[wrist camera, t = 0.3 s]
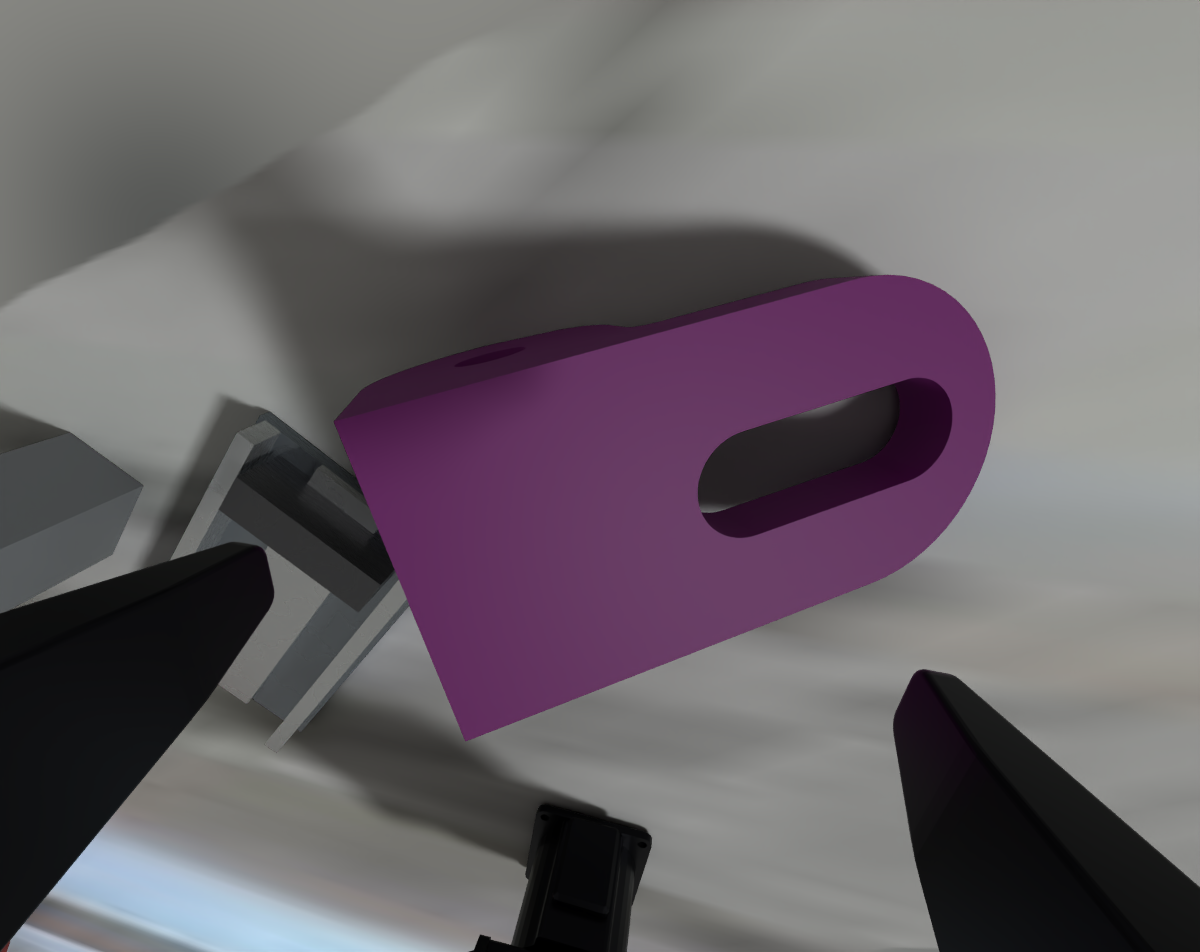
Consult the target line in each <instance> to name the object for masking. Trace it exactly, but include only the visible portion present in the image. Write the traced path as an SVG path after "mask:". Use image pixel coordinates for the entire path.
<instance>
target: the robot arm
mask: <svg viewBox="0 0 1200 952" xmlns="http://www.w3.org/2000/svg"><path fill="white" fill-rule="evenodd" d="M273 600H274V586H273V581H272V577H271V572H270V568H269V563H268V559H267V555H266V552H265V551H264V550H263V548H262V547H260V546H258V545H253V544H248V543H242V542H228V543H225V544H221V545H218V546H215V547H212V548H209V549H205V550H202V551H199V552H196V553H192V554H189V555H186V556H183V557H180V558H176V559H173V560H170V561H167V562H163V563H160V564H157V565H154V566H151V567H147V568H144V569H141V570H138V571H135V572H131V573H128V574H125V575H122V576H118V577H115V578H112V579H109V580H106V581H102V582H99V583H96V584H93V585H89V586H86V587H83V588H80V589H77V590H73V591H70V592H67V593H64V594H61V595H57V596H54V597H51V598H48V599H44V600H41V601H38V602H35V603H32V604H28V605H25V606H22V607H19V608H15V609H12V610H9V611H6V612H3V613H0V952H1V951H2V950H3V948H4V947H5V946H6V945H7V943H8V942H9V941H10V940H11V939H12V937H13V936H14V935H15V934H16V933H17V931H18V930H19V929H20V928H21V926H22V925H23V924H24V923H25V922H26V920H27V919H28V918H29V917H30V915H31V914H32V913H33V912H34V911H35V909H36V908H37V907H38V906H39V905H40V903H41V902H42V901H43V900H44V898H45V897H46V896H47V895H48V894H49V892H50V891H51V890H52V889H53V888H54V886H55V885H56V884H57V883H58V881H59V880H60V879H61V878H62V877H63V875H64V874H65V873H66V872H67V870H68V869H69V868H70V867H71V866H72V864H73V863H74V862H75V861H76V860H77V858H78V857H79V856H80V855H81V853H82V852H83V851H84V850H85V849H86V847H87V846H88V845H89V844H90V842H91V841H92V840H93V839H94V838H95V836H96V835H97V834H98V833H99V832H100V830H101V829H102V828H103V827H104V825H105V824H106V823H107V822H108V821H109V819H110V818H111V817H112V816H113V815H114V813H115V812H116V811H117V810H118V808H119V807H120V806H121V805H122V804H123V802H124V801H125V800H126V799H127V797H128V796H129V795H130V794H131V793H132V791H133V790H134V789H135V788H136V787H137V785H138V784H139V783H140V782H141V780H142V779H143V778H144V777H145V776H146V774H147V773H148V772H149V771H150V769H151V768H152V767H153V766H154V765H155V763H156V762H157V761H158V760H159V759H160V757H161V756H162V755H163V754H164V752H165V751H166V750H167V749H168V748H169V746H170V745H171V744H172V743H173V742H174V740H175V739H176V738H177V737H178V735H179V734H180V733H181V732H182V731H183V729H184V728H185V727H186V726H187V724H188V723H189V722H190V721H191V720H192V718H193V717H194V716H195V715H196V713H197V712H198V711H199V710H200V708H201V707H202V706H203V704H204V703H205V702H206V701H207V699H208V698H209V696H210V695H211V694H212V692H213V691H214V689H215V688H216V687H217V685H218V684H219V682H220V681H221V680H222V678H223V677H224V675H225V674H226V672H227V671H228V669H229V668H230V666H231V665H232V663H233V662H234V660H235V659H236V658H237V656H238V655H239V653H240V652H241V650H242V649H243V647H244V646H245V644H246V643H247V641H248V640H249V639H250V637H251V636H252V634H253V633H254V631H255V630H256V628H257V627H258V625H259V624H260V622H261V621H262V619H263V618H264V617H265V615H266V614H267V612H268V611H269V609H270V607H271V605H272V603H273ZM893 732H894V739H895V745H896V751H897V757H898V763H899V769H900V776H901V782H902V788H903V794H904V800H905V806H906V812H907V818H908V824H909V830H910V836H911V842H912V847H913V852H914V857H915V862H916V866H917V870H918V874H919V878H920V882H921V885H922V889H923V893H924V897H925V900H926V904H927V908H928V911H929V915H930V919H931V922H932V926H933V930H934V933H935V937H936V941H937V944H938V948H939V951H940V952H1200V887H1199V886H1198V885H1197V884H1196V883H1194V882H1193V881H1192V880H1191V879H1190V878H1189V877H1188V876H1186V875H1185V874H1184V873H1183V872H1182V871H1181V870H1179V869H1178V868H1177V867H1176V866H1175V865H1174V864H1173V863H1171V862H1170V861H1169V860H1168V859H1167V858H1166V857H1164V856H1163V855H1162V854H1161V853H1160V852H1159V851H1158V850H1156V849H1155V848H1154V847H1153V846H1152V845H1151V844H1149V843H1148V842H1147V841H1146V840H1145V839H1144V838H1142V837H1141V836H1140V835H1139V834H1138V833H1137V832H1136V831H1134V830H1133V829H1132V828H1131V827H1130V826H1129V825H1127V824H1126V823H1125V822H1124V821H1123V820H1122V819H1121V818H1119V817H1118V816H1117V815H1116V814H1115V813H1114V812H1112V811H1111V810H1110V809H1109V808H1108V807H1107V806H1106V805H1104V804H1103V803H1102V802H1101V801H1100V800H1099V799H1097V798H1096V797H1095V796H1094V795H1093V794H1092V793H1090V792H1089V791H1088V790H1087V789H1086V788H1085V787H1084V786H1082V785H1081V784H1080V783H1079V782H1078V781H1077V780H1075V779H1074V778H1073V777H1072V776H1071V775H1070V774H1069V773H1067V772H1066V771H1065V770H1064V769H1063V768H1062V767H1060V766H1059V765H1058V764H1057V763H1056V762H1055V761H1054V760H1052V759H1051V758H1050V757H1049V756H1048V755H1047V754H1045V753H1044V752H1043V751H1042V750H1041V749H1040V748H1039V747H1037V746H1036V745H1035V744H1034V743H1033V742H1032V741H1030V740H1029V739H1028V738H1027V737H1026V736H1025V735H1023V734H1022V733H1021V732H1020V731H1019V730H1018V729H1017V728H1015V727H1014V726H1013V725H1012V724H1011V723H1010V722H1008V721H1007V720H1006V719H1005V718H1004V717H1003V716H1002V715H1000V714H999V713H998V712H997V711H996V710H995V709H993V708H992V707H991V706H990V705H989V704H988V703H987V702H985V701H984V700H983V699H982V698H981V697H980V696H978V695H977V694H976V693H975V692H974V691H973V690H971V689H970V688H969V687H968V686H967V685H966V684H965V683H963V682H962V681H961V680H960V679H959V678H957V677H956V676H954V675H951V674H947V673H942V672H936V671H931V670H925V669H922V670H918V671H917V672H916V673H914V675H913V676H912V678H911V680H910V682H909V684H908V686H907V689H906V691H905V693H904V695H903V697H902V699H901V701H900V703H899V706H898V708H897V710H896V712H895V715H894V721H893ZM651 844H652V837H651V835H649V834H648V833H646V832H643V831H640V830H636V829H632V828H629V827H625V826H622V825H618V824H614V823H611V822H607V821H604V820H600V819H596V818H593V817H589V816H586V815H582V814H578V813H575V812H571V811H568V810H564V809H560V808H557V807H553V806H550V805H541V806H539V808H538V810H537V814H536V819H535V824H534V830H533V835H532V841H531V846H530V852H529V857H528V863H527V868H526V874H525V875H526V878H527V879H528V884H527V888H526V891H525V895H524V899H523V903H522V906H521V910H520V914H519V917H518V921H517V925H516V929H515V932H514V936H513V940H512V943H511V945H509V944H506V943H502V942H498V941H494V940H491V937H488V936H484V935H480V936H479V938H478V941H477V944H476V946H475V949H474V950H473V951H470V952H627V945H628V935H629V926H630V916H631V907H632V905H633V902H634V898H635V895H636V892H637V889H638V886H639V883H640V880H641V877H642V874H643V871H644V868H645V865H646V862H647V859H648V856H649V853H650V850H651Z"/></svg>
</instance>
